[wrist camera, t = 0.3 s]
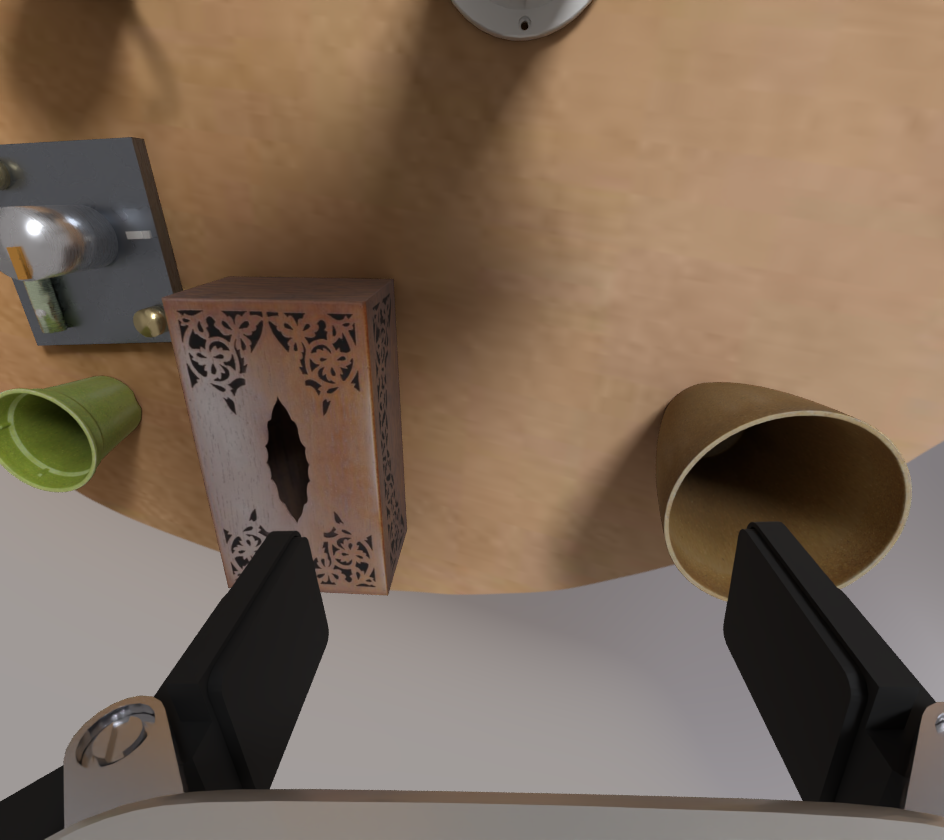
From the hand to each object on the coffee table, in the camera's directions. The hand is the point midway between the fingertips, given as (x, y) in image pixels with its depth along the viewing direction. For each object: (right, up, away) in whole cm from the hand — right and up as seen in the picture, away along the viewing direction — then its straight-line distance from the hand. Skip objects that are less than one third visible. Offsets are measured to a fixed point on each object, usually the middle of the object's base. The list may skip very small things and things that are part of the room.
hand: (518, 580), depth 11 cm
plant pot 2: (+20, +4, +37) cm, 42 cm away
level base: (-34, +18, +34) cm, 51 cm away
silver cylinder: (-33, +19, +32) cm, 49 cm away
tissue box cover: (-15, +4, +39) cm, 42 cm away
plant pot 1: (-36, +5, +40) cm, 54 cm away
